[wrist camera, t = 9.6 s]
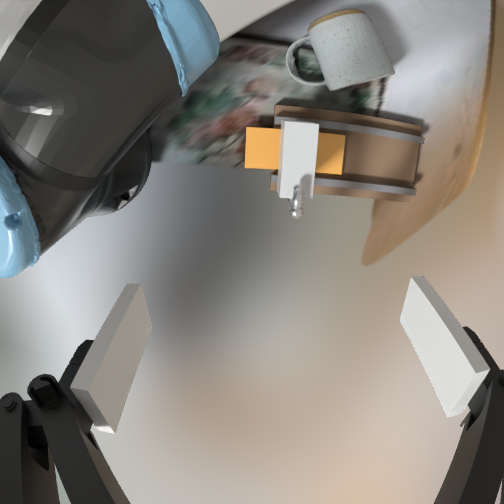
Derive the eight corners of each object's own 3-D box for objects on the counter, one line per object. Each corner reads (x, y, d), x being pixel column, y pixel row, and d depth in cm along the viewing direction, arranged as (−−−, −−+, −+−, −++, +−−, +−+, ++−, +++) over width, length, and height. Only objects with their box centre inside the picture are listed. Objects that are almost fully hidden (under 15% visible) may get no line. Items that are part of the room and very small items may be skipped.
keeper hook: (277, 191, 36) (283, 220, 28) (278, 164, 35) (285, 184, 26) (297, 193, 36) (309, 222, 28) (299, 165, 35) (313, 186, 26)
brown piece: (269, 187, 38) (270, 193, 35) (274, 105, 33) (275, 104, 31) (405, 199, 38) (413, 205, 35) (415, 125, 33) (425, 127, 31)
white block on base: (244, 177, 35) (241, 195, 28) (247, 116, 32) (244, 118, 25) (339, 183, 35) (358, 203, 28) (345, 124, 32) (367, 130, 25)
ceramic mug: (355, 18, 28) (375, 0, 21) (381, 77, 31) (407, 73, 24) (273, 41, 30) (275, 26, 23) (301, 102, 33) (310, 102, 26)
